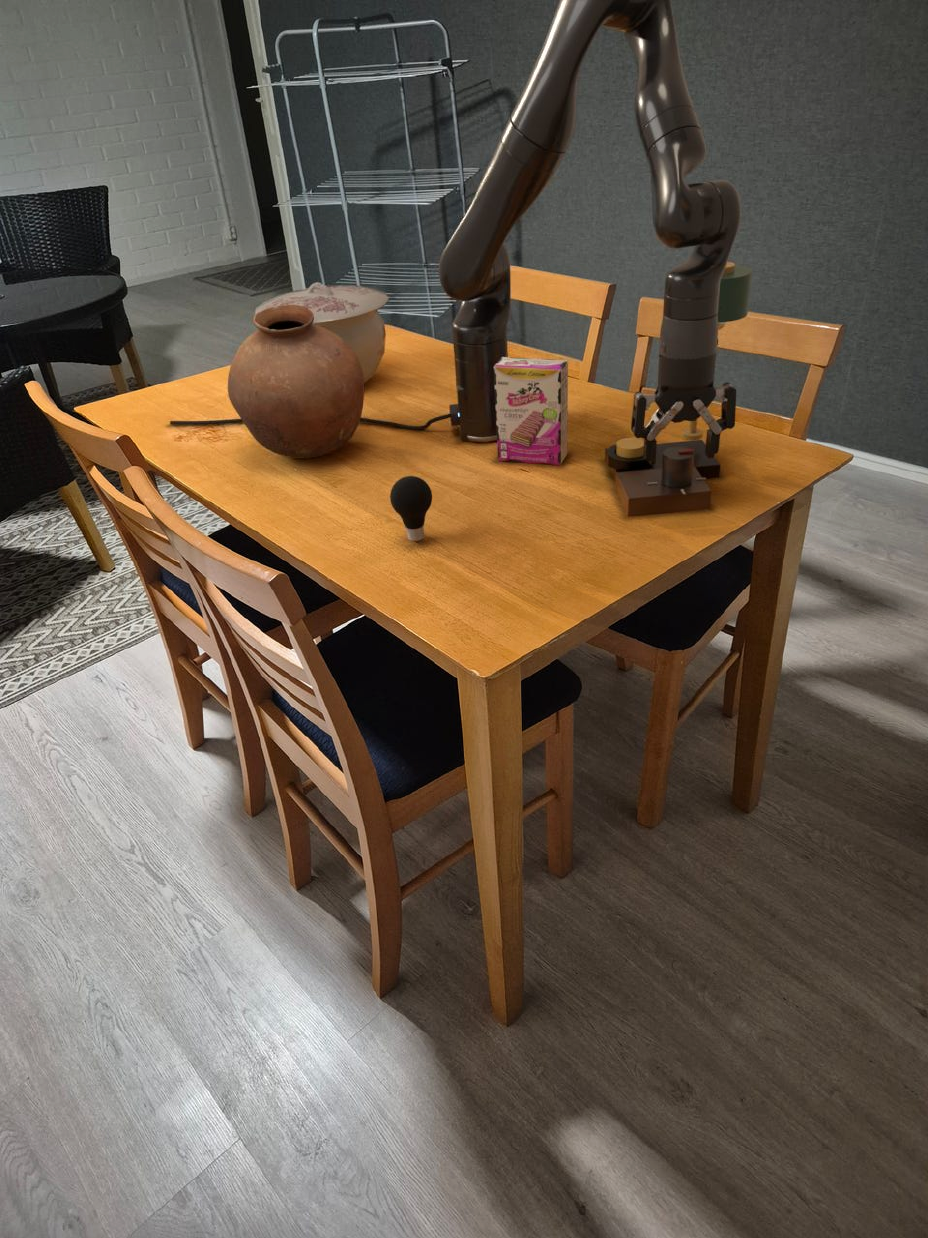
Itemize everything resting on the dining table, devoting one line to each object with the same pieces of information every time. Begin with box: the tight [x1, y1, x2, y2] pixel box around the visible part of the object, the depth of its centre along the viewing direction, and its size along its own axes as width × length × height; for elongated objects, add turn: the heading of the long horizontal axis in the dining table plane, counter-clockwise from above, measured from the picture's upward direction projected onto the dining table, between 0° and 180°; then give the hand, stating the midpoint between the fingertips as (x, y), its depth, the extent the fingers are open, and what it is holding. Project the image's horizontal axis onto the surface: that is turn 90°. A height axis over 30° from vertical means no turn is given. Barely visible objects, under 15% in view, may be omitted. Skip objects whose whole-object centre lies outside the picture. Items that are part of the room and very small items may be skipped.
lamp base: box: [604, 439, 721, 484], centre depth 135 cm, size 17×10×4 cm, turn 93°
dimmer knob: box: [661, 447, 694, 488], centre depth 124 cm, size 4×4×5 cm
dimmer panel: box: [615, 465, 712, 518], centre depth 126 cm, size 12×9×3 cm
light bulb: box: [389, 475, 433, 543], centre depth 119 cm, size 6×6×10 cm
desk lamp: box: [681, 261, 753, 441], centre depth 128 cm, size 9×9×26 cm
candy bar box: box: [494, 356, 569, 466], centre depth 138 cm, size 11×5×16 cm, turn 71°
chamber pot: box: [254, 282, 389, 384], centre depth 177 cm, size 28×28×21 cm
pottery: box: [227, 304, 365, 459], centre depth 145 cm, size 23×23×25 cm
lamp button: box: [615, 437, 644, 458], centre depth 133 cm, size 4×4×2 cm
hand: (680, 459), depth 123 cm, fingers open, 8 cm apart
